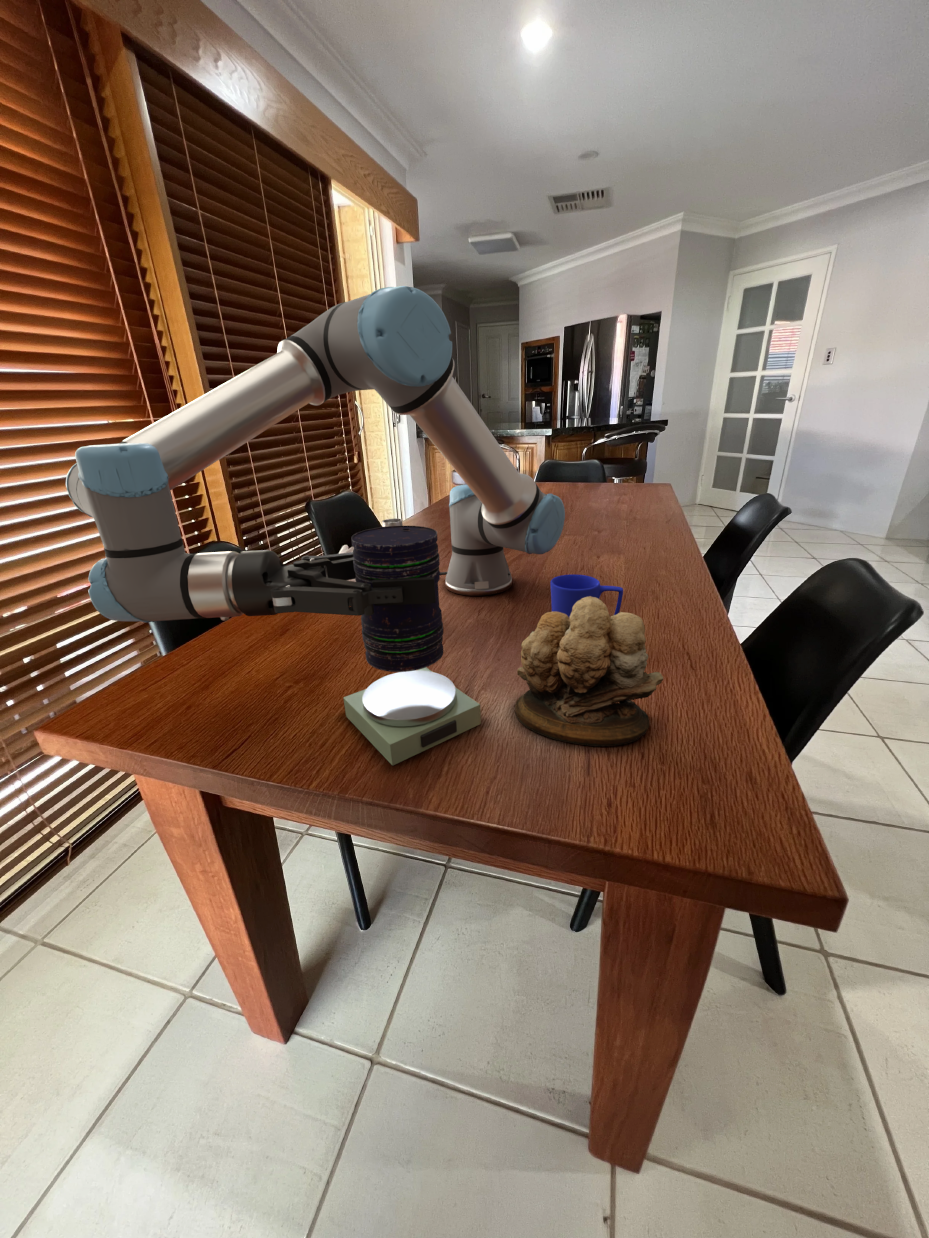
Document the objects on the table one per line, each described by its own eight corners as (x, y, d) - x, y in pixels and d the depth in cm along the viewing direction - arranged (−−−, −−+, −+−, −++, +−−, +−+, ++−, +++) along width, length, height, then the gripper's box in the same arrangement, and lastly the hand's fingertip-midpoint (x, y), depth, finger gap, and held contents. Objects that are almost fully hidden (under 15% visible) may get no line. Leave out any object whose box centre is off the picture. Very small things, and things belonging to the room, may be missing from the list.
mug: (620, 647, 83) (626, 591, 79) (547, 643, 85) (549, 588, 81) (617, 627, 90) (621, 575, 86) (549, 624, 92) (551, 573, 89)
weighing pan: (347, 696, 66) (346, 689, 65) (424, 668, 72) (424, 661, 72) (391, 739, 57) (390, 732, 56) (474, 702, 63) (474, 695, 63)
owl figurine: (655, 703, 67) (670, 584, 60) (657, 758, 57) (677, 621, 50) (523, 686, 72) (524, 575, 66) (504, 734, 62) (503, 607, 55)
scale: (345, 716, 67) (342, 697, 66) (427, 684, 74) (425, 666, 73) (393, 767, 57) (391, 746, 56) (482, 725, 64) (482, 705, 63)
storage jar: (424, 678, 56) (414, 548, 50) (349, 665, 59) (332, 543, 53) (456, 641, 64) (451, 527, 59) (389, 632, 68) (378, 523, 62)
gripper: (277, 583, 69) (437, 576, 70) (208, 657, 48) (436, 645, 49) (267, 530, 66) (434, 523, 67) (189, 584, 45) (432, 573, 46)
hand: (435, 575), depth 58 cm, fingers closed on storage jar, 10 cm apart
